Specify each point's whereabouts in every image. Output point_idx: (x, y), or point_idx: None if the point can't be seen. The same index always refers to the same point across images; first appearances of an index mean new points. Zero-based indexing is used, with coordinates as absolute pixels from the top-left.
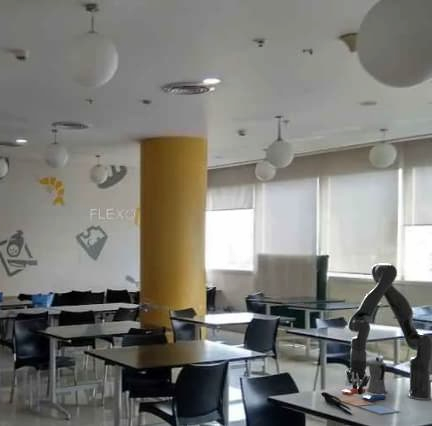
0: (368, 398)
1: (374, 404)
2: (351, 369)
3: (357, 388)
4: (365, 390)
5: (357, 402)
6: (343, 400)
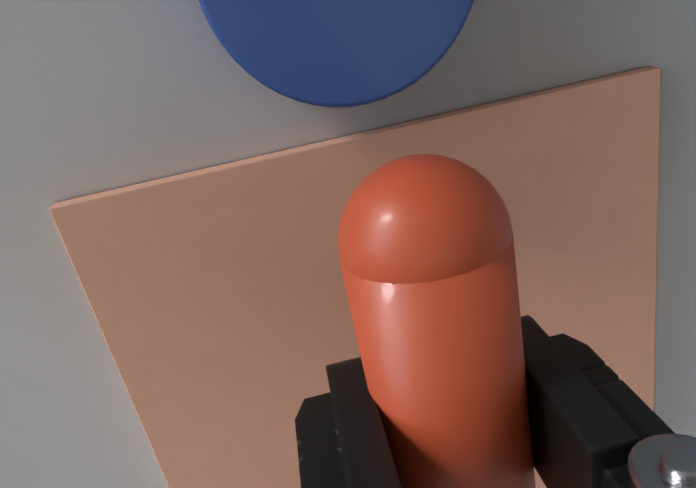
0: (442, 51)
1: (654, 75)
2: None
3: (472, 479)
4: (484, 179)
5: None
6: None
